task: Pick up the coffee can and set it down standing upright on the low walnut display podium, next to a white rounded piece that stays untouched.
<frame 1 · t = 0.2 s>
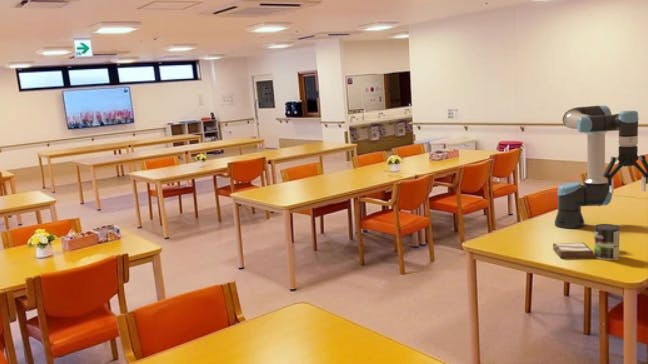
hand: (627, 191, 250), 28 cm above the table, fingers open, 13 cm apart
white rounded piece: (603, 249, 259), on the table
coffee can: (606, 257, 249), on the table
podium: (572, 253, 257), on the table
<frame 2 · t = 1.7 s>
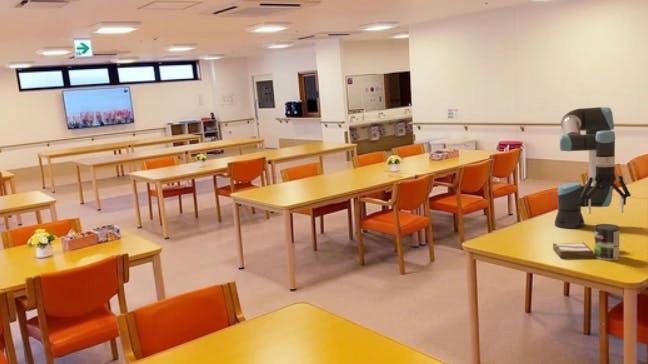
hand: (605, 212, 246), 20 cm above the table, fingers open, 13 cm apart
nothing on the table moved.
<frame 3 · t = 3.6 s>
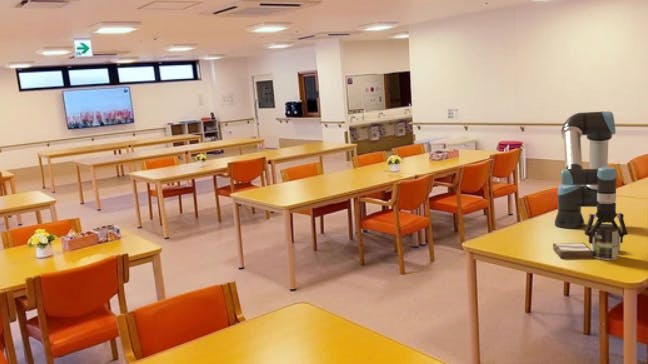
hand: (605, 250, 248), 3 cm above the table, fingers open, 10 cm apart
coffee can: (605, 257, 249), on the table, touching gripper
everything else where it was.
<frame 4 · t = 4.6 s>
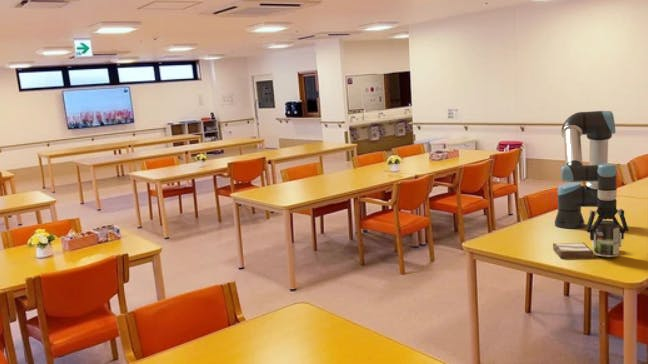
hand: (606, 246, 248), 5 cm above the table, fingers closed on coffee can, 10 cm apart
coffee can: (606, 253, 249), point 1 cm above the table, touching gripper
everything else where it was.
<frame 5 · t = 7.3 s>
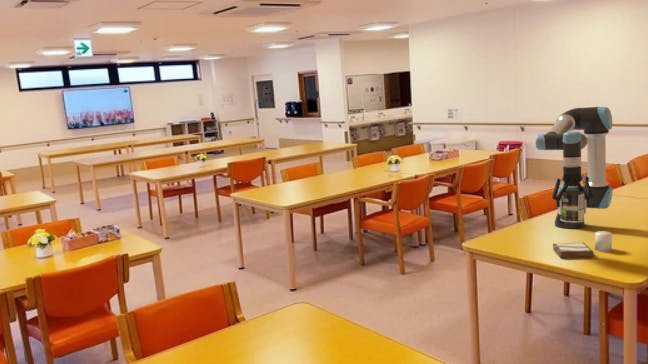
hand: (572, 213, 253), 19 cm above the table, fingers closed on coffee can, 10 cm apart
coffee can: (572, 220, 254), point 16 cm above the table, touching gripper
everything else where it was.
when the fingers open (7 cm above the table, at t = 9.9 s): coffee can stays where it is, resting on podium.
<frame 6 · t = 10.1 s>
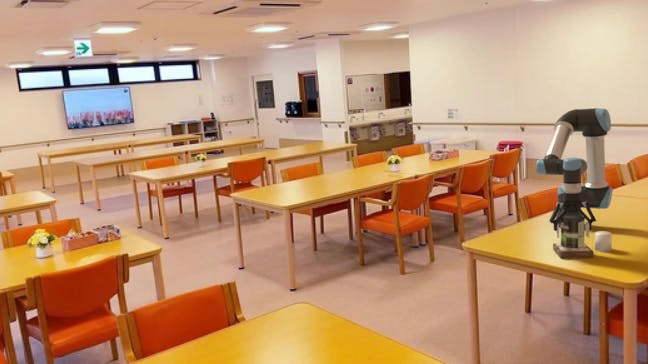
hand: (572, 236, 255), 8 cm above the table, fingers open, 12 cm apart
coffee can: (572, 247, 256), point 3 cm above the table, touching podium
everything else where it was.
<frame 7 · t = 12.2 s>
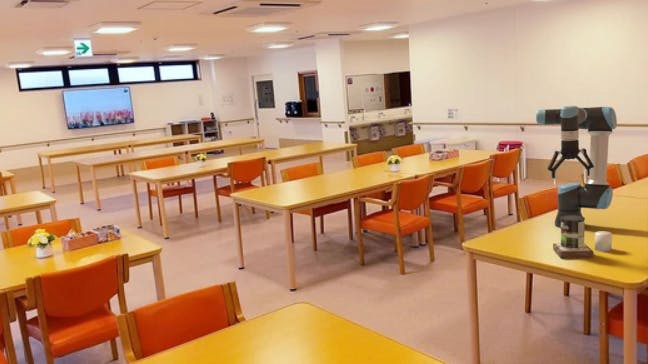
hand: (570, 183, 261), 31 cm above the table, fingers open, 13 cm apart
nothing on the table moved.
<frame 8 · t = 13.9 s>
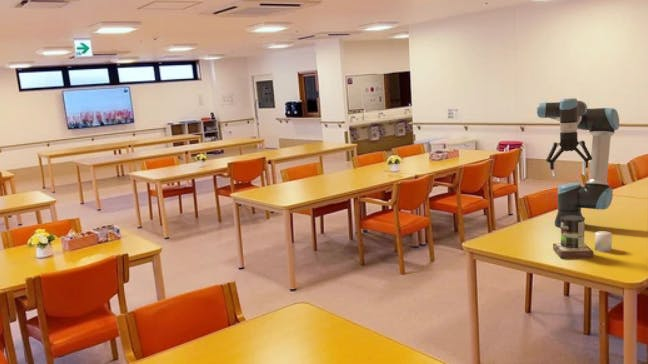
hand: (569, 175, 263), 35 cm above the table, fingers open, 13 cm apart
nothing on the table moved.
at the end: coffee can inside the target area on the podium (0.1 cm from its centre), point 3.0 cm above the podium's base; coffee can tilted 0°; the gripper is holding nothing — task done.
